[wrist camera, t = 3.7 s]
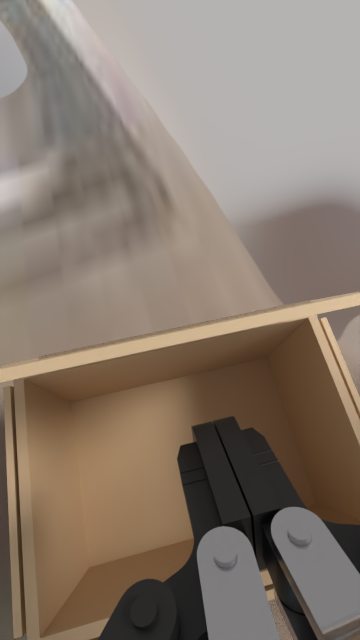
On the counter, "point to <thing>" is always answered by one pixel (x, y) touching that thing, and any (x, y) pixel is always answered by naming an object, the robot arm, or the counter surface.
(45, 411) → the carton
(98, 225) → the counter surface
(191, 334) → the flap
